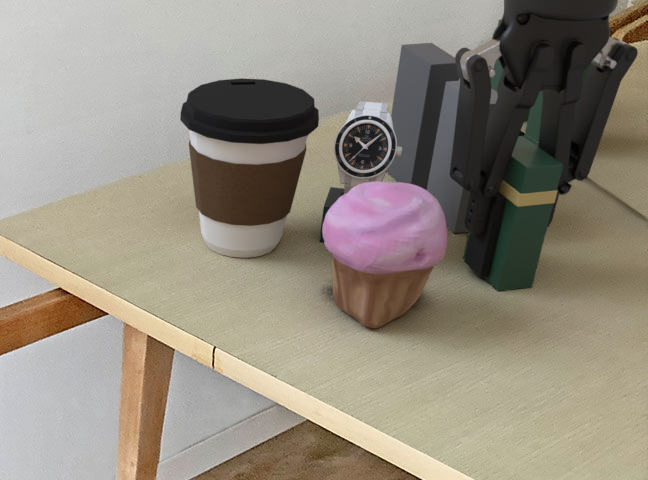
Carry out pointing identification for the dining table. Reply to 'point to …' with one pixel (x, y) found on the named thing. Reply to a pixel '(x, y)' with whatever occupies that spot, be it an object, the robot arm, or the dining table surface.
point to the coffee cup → (246, 159)
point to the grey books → (429, 126)
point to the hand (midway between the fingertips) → (497, 266)
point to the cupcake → (383, 248)
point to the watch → (363, 150)
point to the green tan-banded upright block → (523, 215)
